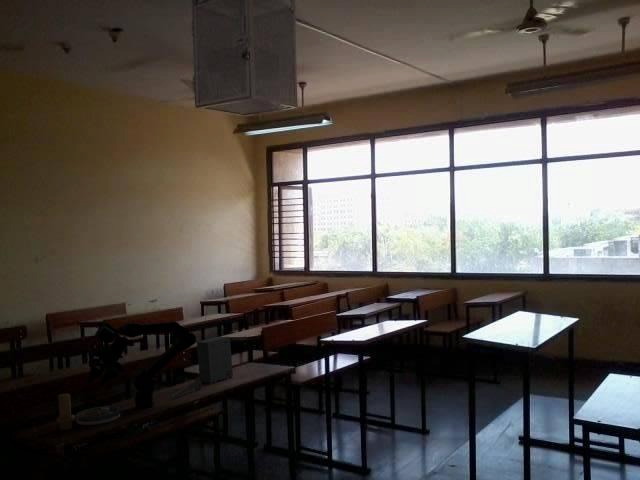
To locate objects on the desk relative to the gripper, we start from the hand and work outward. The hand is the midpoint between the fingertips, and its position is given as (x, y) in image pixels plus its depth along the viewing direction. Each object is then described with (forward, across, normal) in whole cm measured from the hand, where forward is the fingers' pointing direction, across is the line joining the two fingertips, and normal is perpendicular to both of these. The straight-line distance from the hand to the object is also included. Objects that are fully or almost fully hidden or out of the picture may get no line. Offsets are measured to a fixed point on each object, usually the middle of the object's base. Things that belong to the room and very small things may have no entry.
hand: (94, 384), depth 237 cm
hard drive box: (-35, -10, +60) cm, 70 cm away
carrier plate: (+10, +1, +9) cm, 13 cm away
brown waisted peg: (+19, +2, -1) cm, 19 cm away
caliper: (-18, 0, +41) cm, 44 cm away
